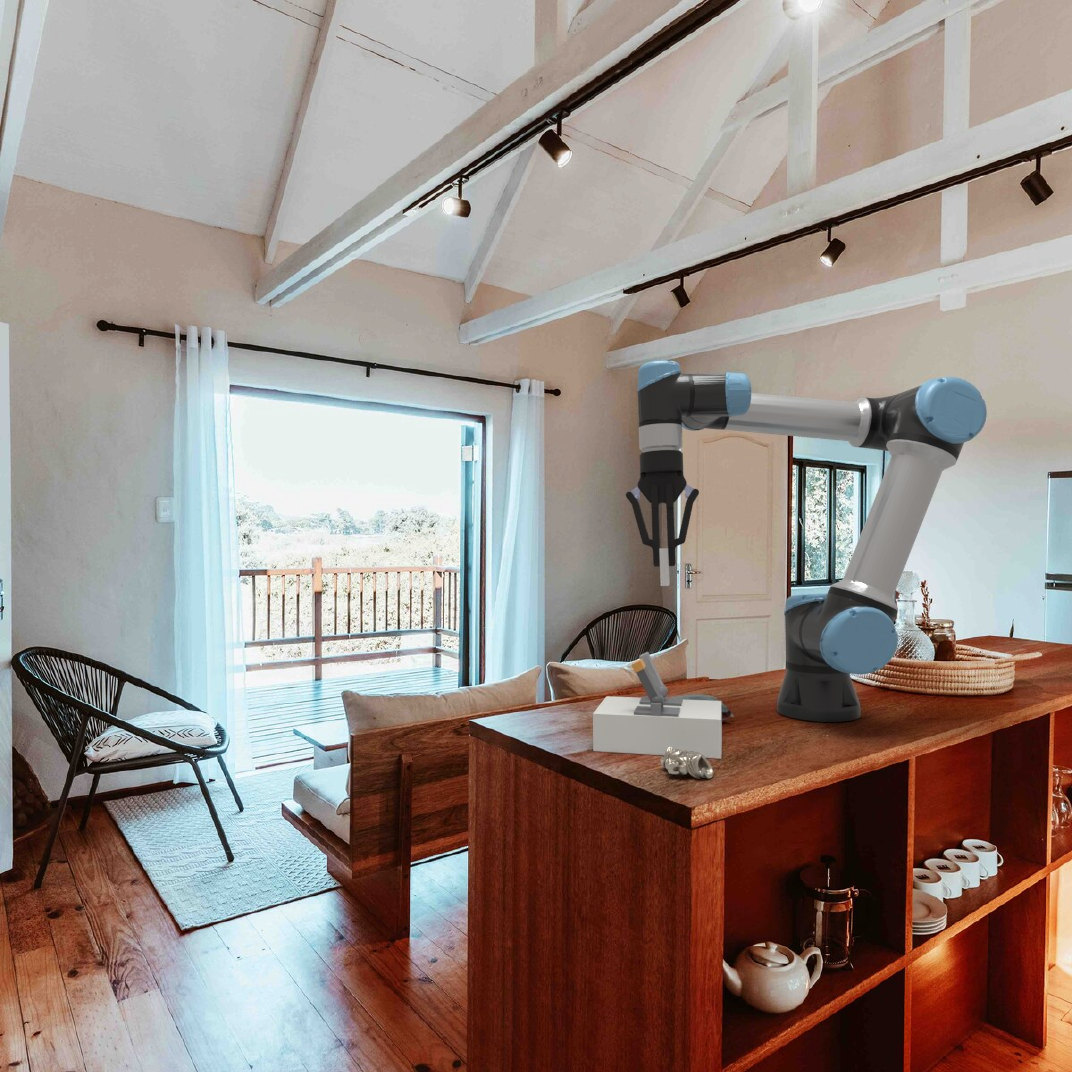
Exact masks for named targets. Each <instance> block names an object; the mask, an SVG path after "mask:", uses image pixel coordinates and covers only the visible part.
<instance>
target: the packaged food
mask: <svg viewBox="0 0 1072 1072" xmlns="http://www.w3.org/2000/svg"><path fill="white" fill-rule="evenodd" d="M673 697H674V698H683V699H684V700H708V701H721V700H720V699H719V698H717V697H715V696H712V695H707V694H684V695H679V696H678V695H676V696H673ZM721 707H722V721H724V720H727V719H728V718H729V717H731V718H734V716H735V715H734V713H732V711H731V710H730V709H729V707H728V706H726V705H725V704H724V703H723V701H721Z"/></svg>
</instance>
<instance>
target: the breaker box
mask: <svg viewBox="0 0 1072 1072" xmlns="http://www.w3.org/2000/svg"><path fill="white" fill-rule="evenodd" d="M639 655H640V656H639V658H638V659H641V658H642V659H643V661H644V663H645V665H646V669H647V670H648V672H649V674H650V676H651V678H652V680H653V682H654V684H655V686H656V688H657V690H658V692H659V694H661V695H662V696H663V697H664V702H663V705H662V707H661V703H651V705H650V699H649V697H648V695H647V696H646V695H645V696H644V695H642V696H641V697H636V696H635V697H632V696H630V697H628V696H609V695H608V696H605V698H603V700H602V702H601V703H600V704H599V705H598V706H597V708H596V709H595V711H593V713H592V733H593V734H592V741H593V743H592V745H593V746H592V748H593V749H592V750H593V752H599V753H600V752H603V753H620V754H621V753H623V754H636V755H638V754H639V755H650V756H651V755H652V756H653V755H654V756H664V754H665V752H666V750H667V748H668V747H672V748H673V750H672V751H675V749H680V750H681V751H685V750H687V751H688V752H689V751H694V752H699V753H700V754H702V755H704V757H705V758H706V759H717V760H718V759H720V760H721V759H722V751H723V750H722V748H723V747H722V746H723V745H722V743H723V741H722V740H723V726H722V725H723V724H722V723H723V720H722V707H721V702H722V700H720V701H708V700H684V699H683V698H674V697H675V696H673V697H672V696H670V697H669V696H667V694H668V692H669V690H668V687H667V686H666V685H665V684H664V682H663V680H662V678H661V677H660V673H659V671H658V670H657V668H656V666H655V663H654V662H653V659H652V657H651V655H650V652H649V651H646V652H644V653H642V654H639Z"/></svg>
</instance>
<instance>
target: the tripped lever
mask: <svg viewBox="0 0 1072 1072" xmlns="http://www.w3.org/2000/svg"><path fill="white" fill-rule="evenodd" d="M630 665H631V668H632V670H633V671H634V673H636V676H637V677H638V680H639V681H640V683H641V685H642V687H643V689H644V691H645V693H646V695H647V696H648V697H649V699H650V705H651V703H661V707H662V705H663V702H664V697H663V696H662V695H661V694H659V692H658V690H657V688H656V686H655V684H654V682H653V680H652V678H651V676H650V674H649V672H648V670H647V669H646V665H645V663H644V661H643V659H642V658H641V659H640V658H638V659H637V660H635V661H632V664H630Z"/></svg>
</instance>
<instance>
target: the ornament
mask: <svg viewBox="0 0 1072 1072" xmlns="http://www.w3.org/2000/svg"><path fill="white" fill-rule="evenodd" d="M672 750H673V748H672V747H668V748H667V750H666V752H665V754H664V755H663V756H662V757H660V763H661V766H662V767H663V768H665V769H666V770H667V771H668V774H671V775H687V774H689V775H690V776H691V777H692V778H694V779H699V780H700V779H712V778H713V776H714V770H713V767H712V764H711V763H710V761H709V760H708V758H705V757H704V755H702V754H700V753H699V752H694V751H689V752H688V751H687V750H685V751H681V750H680V749H675V751H672Z"/></svg>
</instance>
